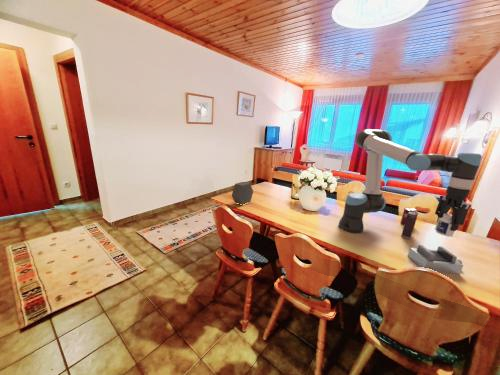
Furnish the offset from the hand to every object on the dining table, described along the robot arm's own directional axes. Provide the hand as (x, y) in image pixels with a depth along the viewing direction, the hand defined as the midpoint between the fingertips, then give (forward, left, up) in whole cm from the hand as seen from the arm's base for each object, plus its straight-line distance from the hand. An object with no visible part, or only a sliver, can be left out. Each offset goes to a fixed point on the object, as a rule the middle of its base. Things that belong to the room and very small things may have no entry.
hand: (443, 232), depth 100 cm
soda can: (+15, +46, -17) cm, 52 cm away
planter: (-106, +63, -17) cm, 125 cm away
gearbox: (0, -2, -17) cm, 17 cm away
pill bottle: (0, 0, -1) cm, 1 cm away
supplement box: (+4, +28, -17) cm, 33 cm away
